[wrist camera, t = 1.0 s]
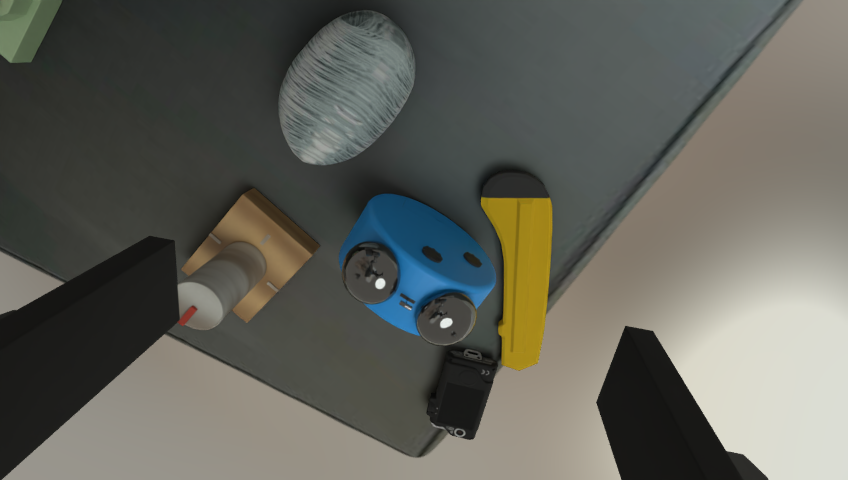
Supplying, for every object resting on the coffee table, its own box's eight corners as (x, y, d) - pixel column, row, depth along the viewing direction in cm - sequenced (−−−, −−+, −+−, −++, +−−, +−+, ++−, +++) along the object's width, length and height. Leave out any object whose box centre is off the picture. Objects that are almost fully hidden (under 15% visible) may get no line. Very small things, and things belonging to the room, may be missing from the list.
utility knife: (481, 174, 42) (481, 168, 44) (478, 371, 51) (479, 360, 53) (558, 173, 42) (555, 168, 43) (542, 374, 51) (540, 363, 52)
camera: (441, 344, 52) (423, 416, 57) (441, 360, 50) (422, 434, 54) (496, 354, 52) (473, 425, 57) (499, 370, 50) (475, 443, 54)
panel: (254, 187, 48) (241, 194, 45) (320, 245, 49) (312, 255, 47) (194, 259, 52) (179, 270, 50) (257, 311, 54) (246, 323, 51)
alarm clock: (358, 223, 48) (308, 293, 34) (387, 175, 46) (346, 229, 32) (463, 288, 49) (456, 381, 36) (497, 244, 47) (503, 325, 33)
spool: (352, -40, 36) (345, 24, 30) (438, 40, 41) (447, 108, 35) (263, 76, 43) (242, 147, 37) (345, 131, 49) (339, 201, 43)
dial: (239, 232, 47) (185, 273, 39) (275, 263, 48) (231, 310, 39) (214, 261, 49) (157, 306, 40) (249, 291, 50) (201, 341, 41)
